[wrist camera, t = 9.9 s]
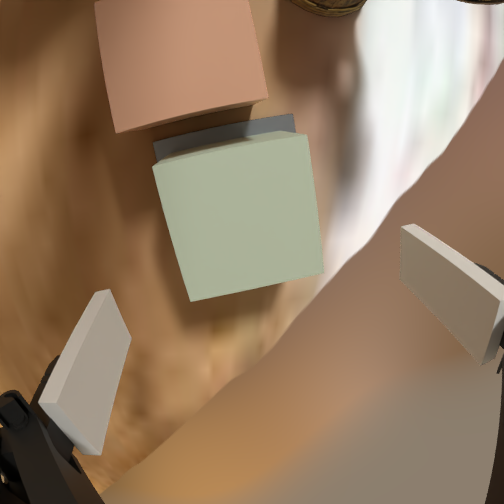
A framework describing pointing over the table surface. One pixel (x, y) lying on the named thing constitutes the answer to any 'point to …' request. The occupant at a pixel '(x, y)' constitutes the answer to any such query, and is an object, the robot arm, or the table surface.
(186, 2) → the terracotta cover
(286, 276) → the sage cover
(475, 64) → the table surface
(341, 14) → the wooden mug
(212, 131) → the slate tile
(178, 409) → the table surface
